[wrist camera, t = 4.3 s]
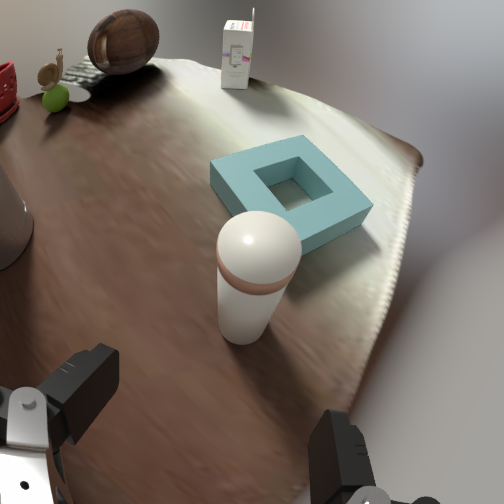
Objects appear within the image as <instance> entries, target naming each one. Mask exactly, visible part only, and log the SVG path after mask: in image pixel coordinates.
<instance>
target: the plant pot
mask: <svg viewBox="0 0 504 504" xmlns="http://www.w3.org/2000/svg"><path fill="white" fill-rule="evenodd" d="M5 84H7V86H6V87H4V85H5ZM16 93H17V80H16V73H15V68H14V64H13V62H7V63H5V64H2V65H0V124H1V123H2V122H4V121H5V120H6V119H8V118H9V117H10V116H11V115H12V114H13V113H14V111H15V110H16V109H17V107H18V105H19V98H17V97H16Z"/></svg>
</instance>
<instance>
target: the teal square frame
mask: <svg viewBox="0 0 504 504" xmlns="http://www.w3.org/2000/svg"><path fill="white" fill-rule="evenodd" d="M291 178H293V179H294V180H295V181H296V183H297V184H298V185H299V186H300V187H301V188H302V189H303V190H304V191H305V192H306V194H307V195H308V196H309V197H310V198H311V199H312V200H313V201H311V202H308V203H306V204H304V205H301V206H299V207H296V208H294V209H292V210H289V211H286V209H285V208H284V207H283V206H282V205H281V203H280V202H279V201H278V200H277V198H276V197H275V196H274V195H273V194H272V192H271V191H270V190H269V189H268V188H267V187H269V186H272V185H274V184H277V183H280V182H283V181H286V180H288V179H291ZM210 185H211V186H212V188H213V189H214V191H215V192H216V194H217V195H218V196H219V198H220V199H221V201H222V202H223V204H224V205H225V206H226V208H227V209H228V211H229V212H230V214H231V215H232V216H233V217H234V216H236V215H238V214H241V213H244V212H248V211H264V212H269V213H272V214H275V215H277V216H279V217H281V218H283V219H284V220H286V221H287V222H288V223H289V224H290V225H291V226H292V227H293V228H294V229H295V231H296V232H297V234H298V236H299V238H300V241H301V247H302V254H301V256H303V255H305V254H307V253H309V252H311V251H313V250H314V249H316V248H318V247H320V246H322V245H324V244H326V243H328V242H330V241H331V240H333V239H335V238H337V237H339V236H341V235H343V234H345V233H346V232H348V231H350V230H352V229H354V228H356V227H357V226H359V225H361V224H362V222H363V221H364V219H365V218H366V216H367V215H368V213H369V211H370V210H371V208H372V207H373V205H374V204H373V203H372V202H371V201H370V200H369V199H368V198H367V197H366V196H365V195H364V194H363V193H362V192H361V191H360V189H359V188H358V187H357V186H356V185H355V184H354V183H353V182H352V181H351V180H350V179H349V178H348V177H347V176H346V175H345V174H344V173H343V172H342V171H341V170H340V169H339V168H338V167H337V166H336V165H335V164H334V163H333V162H332V161H331V160H330V159H329V158H328V157H326V156H325V155H324V154H323V153H322V152H321V151H320V150H319V149H318V148H317V147H316V146H315V145H314V144H313V143H311V142H310V141H309V140H308V139H307V138H306V137H305V136H304V135H300V136H296V137H292V138H288V139H284V140H280V141H276V142H273V143H269V144H265V145H262V146H258V147H254V148H251V149H247V150H244V151H241V152H237V153H234V154H231V155H227V156H224V157H221V158H218V159H215V160H212V161H210Z"/></svg>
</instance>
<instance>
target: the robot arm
mask: <svg viewBox="0 0 504 504" xmlns="http://www.w3.org/2000/svg"><path fill="white" fill-rule="evenodd" d="M32 230H33V217H32V215H31V213H30V211H29V209H28V208H27V206H26V204H25V203H24V201H23V200H22V199H21V197H20V195H19V194H18V192H17V190H16V189H15V187H14V185H13V184H12V182H11V180H10V178H9V177H8V175H7V173H6V171H5V170H4V168H3V166H2V164H1V162H0V270H2V269H4V268H6V267H8V266H9V265H10V264H12V263H13V262H14V261H15V260H16V259H17V258H18V257H19V256H20V255H21V253H22V252H23V250H24V249H25V247H26V245H27V244H28V242H29V239H30V237H31V234H32ZM118 385H119V352H118V350H116V349H113V348H111V347H109V346H106V345H104V344H102V343H100V344H98V345H97V346H96V347H95V348H94V349H93V350H91V351H88V350H84V351H81V352H78V353H76V354H74V355H73V356H72V357H70V358H69V359H68V360H67V362H65V363H64V364H62V365H61V366H60V368H58V369H57V370H56V371H54V372H53V373H52V374H51V375H50V376H49V377H48V378H47V379H45V380H44V381H43V382H42V383H41V384H40V385H39V386H38V387H36V388H32V387H21V388H18V389H16V390H15V391H12V390H10V389H7V388H5V387H2V386H0V483H1V495H2V504H74V502H73V499H72V497H71V494H70V491H69V488H68V483H67V478H66V473H65V468H64V462H63V455H62V449H61V445H62V444H63V443H64V441H65V440H66V441H67V442H69V443H71V444H72V445H74V446H75V445H76V443H77V442H78V441H79V439H80V438H81V437H82V435H83V434H84V433H85V431H86V430H87V429H88V427H89V426H90V425H91V424H92V422H93V421H94V420H95V418H96V417H97V416H98V414H99V413H100V412H101V411H102V409H103V408H104V407H105V405H106V404H107V403H108V401H109V400H110V399H111V398H112V396H113V395H114V394H115V392H116V390H117V388H118ZM365 446H366V444H365V440H364V437H363V434H362V433H361V432H360V430H359V429H358V428H357V427H356V425H350V422H349V418H348V414H347V412H345V411H337V410H329V409H327V410H326V411H325V412H324V414H323V415H322V417H321V419H320V421H319V422H318V424H317V426H316V427H315V429H314V431H313V433H312V434H311V437H310V439H309V444H308V456H309V474H310V493H311V494H310V496H311V504H409V503H403V502H397V501H393V500H390V498H389V496H388V494H387V493H386V492H385V491H384V490H382V489H380V488H378V487H376V484H375V480H374V476H373V472H372V468H371V464H370V460H369V456H368V452H367V448H366V447H365ZM412 504H440V503H439V502H438V501H437V500H436V499H434V498H432V497H421V498H418V499H417V500H416V501H414V502H413V503H412Z"/></svg>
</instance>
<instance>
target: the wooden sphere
mask: <svg viewBox="0 0 504 504" xmlns="http://www.w3.org/2000/svg"><path fill="white" fill-rule="evenodd" d="M158 44H159V30H158V27H157V24H156V23H155V21H154V20H153V19H152V18H151V17H150V16H149V15H148V14H146V13H144V12H142V11H138V10H133V9H126V10H120V11H117V12H114V13H112V14H110V15H108V16H106V17H105V18H103V19H102V20H101V21H100V22H99V23H98V24H97V25H96V26H95V28H94V29H93V31H92V33H91V34H90V37H89V40H88V47H87V49H88V56H89V58H90V61H91V62H92V64H93V65H94V66H95V67H96V68H97V69H98V70H100V71H102V72H104V73H106V74H110V75H124V74H129V73H132V72H134V71H136V70H138V69H140V68H141V67H143V66H144V65H145V64H146V63H147V62H148V61H149V60H150V59H151V58H152V57H153V55H154V54H155V52H156V49H157V47H158Z"/></svg>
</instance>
